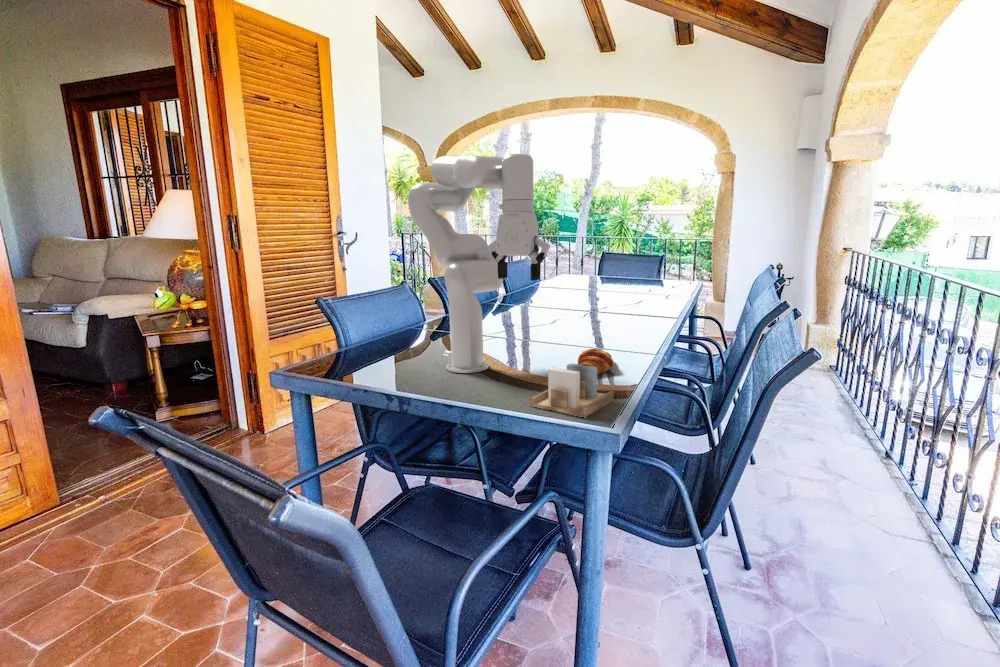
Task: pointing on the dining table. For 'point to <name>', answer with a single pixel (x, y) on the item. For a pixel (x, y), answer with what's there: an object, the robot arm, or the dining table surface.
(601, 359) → the croissant
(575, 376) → the low beige gift box
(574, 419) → the dining table surface
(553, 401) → the dish rack
